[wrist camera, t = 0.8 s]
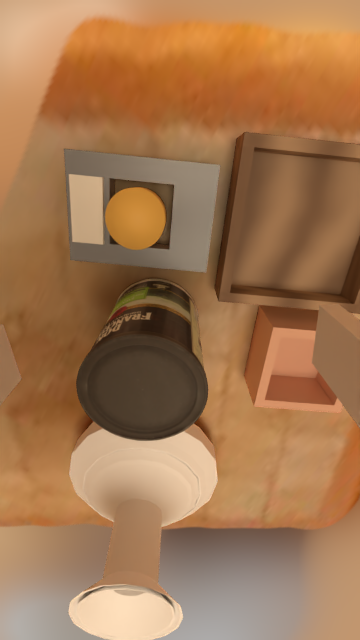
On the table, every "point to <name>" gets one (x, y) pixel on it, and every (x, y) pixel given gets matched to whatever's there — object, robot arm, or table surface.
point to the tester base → (103, 168)
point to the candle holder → (137, 524)
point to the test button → (135, 217)
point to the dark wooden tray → (292, 224)
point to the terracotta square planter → (287, 362)
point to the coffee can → (146, 365)
